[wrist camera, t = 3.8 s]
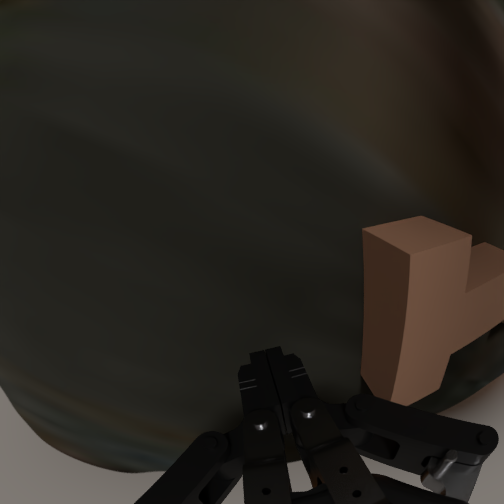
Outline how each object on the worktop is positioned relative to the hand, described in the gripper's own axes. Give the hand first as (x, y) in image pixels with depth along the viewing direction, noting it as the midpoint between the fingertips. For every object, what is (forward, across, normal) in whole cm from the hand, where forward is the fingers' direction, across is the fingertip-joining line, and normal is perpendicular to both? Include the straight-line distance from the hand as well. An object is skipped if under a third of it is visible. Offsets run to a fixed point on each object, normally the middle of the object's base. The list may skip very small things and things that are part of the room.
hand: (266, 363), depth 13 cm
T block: (+2, -12, 0) cm, 12 cm away
